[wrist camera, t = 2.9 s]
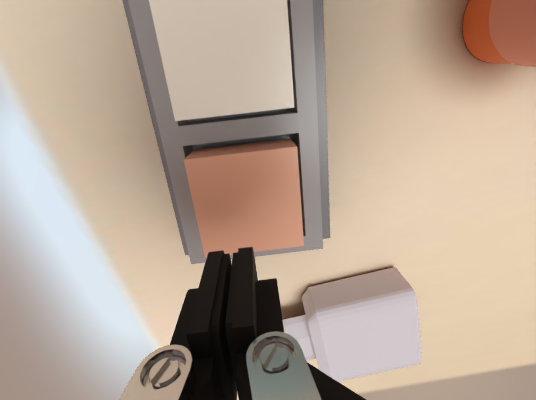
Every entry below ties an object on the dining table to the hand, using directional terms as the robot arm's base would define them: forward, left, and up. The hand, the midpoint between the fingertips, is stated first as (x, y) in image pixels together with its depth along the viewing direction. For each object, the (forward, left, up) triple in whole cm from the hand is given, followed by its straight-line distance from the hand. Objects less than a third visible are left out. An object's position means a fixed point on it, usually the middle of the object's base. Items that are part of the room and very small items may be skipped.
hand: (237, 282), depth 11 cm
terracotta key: (0, 0, -10) cm, 10 cm away
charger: (+16, +7, -15) cm, 23 cm away
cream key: (-9, 0, -10) cm, 13 cm away
